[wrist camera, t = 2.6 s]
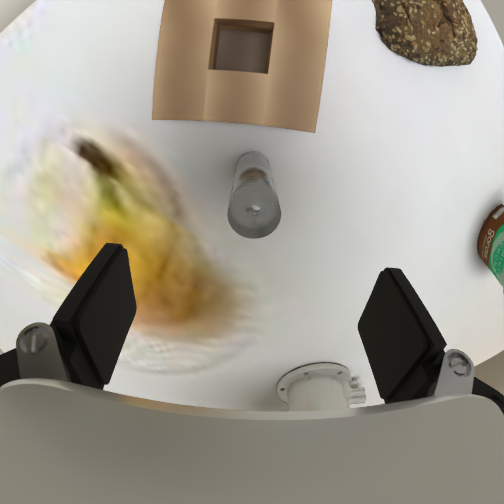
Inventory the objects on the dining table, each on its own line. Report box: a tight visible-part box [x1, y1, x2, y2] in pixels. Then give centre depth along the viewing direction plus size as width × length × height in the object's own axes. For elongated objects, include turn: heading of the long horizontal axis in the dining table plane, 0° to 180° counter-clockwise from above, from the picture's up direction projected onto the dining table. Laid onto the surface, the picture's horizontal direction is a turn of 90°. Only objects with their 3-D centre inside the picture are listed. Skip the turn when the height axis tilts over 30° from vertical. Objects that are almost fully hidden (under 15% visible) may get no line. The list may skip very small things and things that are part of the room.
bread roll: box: [372, 0, 477, 67], centre depth 14 cm, size 13×12×5 cm
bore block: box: [152, 0, 332, 133], centre depth 18 cm, size 12×12×5 cm
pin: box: [228, 152, 281, 238], centre depth 21 cm, size 3×3×11 cm
